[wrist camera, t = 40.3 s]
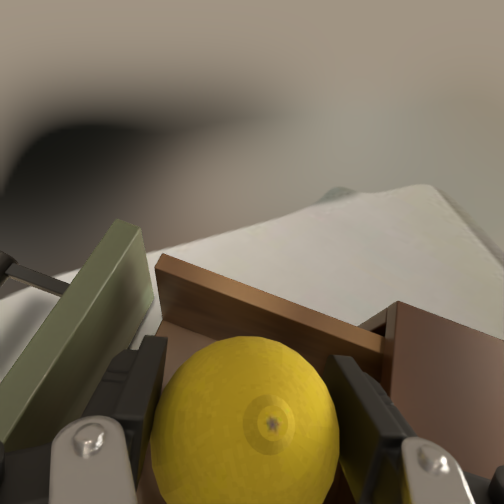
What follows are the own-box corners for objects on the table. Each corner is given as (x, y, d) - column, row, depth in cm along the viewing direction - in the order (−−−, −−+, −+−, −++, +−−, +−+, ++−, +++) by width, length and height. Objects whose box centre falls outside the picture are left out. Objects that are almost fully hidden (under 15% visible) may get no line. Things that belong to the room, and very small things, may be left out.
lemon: (136, 406, 14) (94, 369, 7) (248, 343, 16) (303, 267, 9) (194, 554, 12) (220, 711, 5) (313, 458, 14) (445, 474, 7)
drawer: (-103, 466, 15) (-352, 490, 8) (55, 259, 21) (-7, 171, 14) (324, 628, 15) (451, 795, 8) (358, 374, 21) (445, 342, 14)
